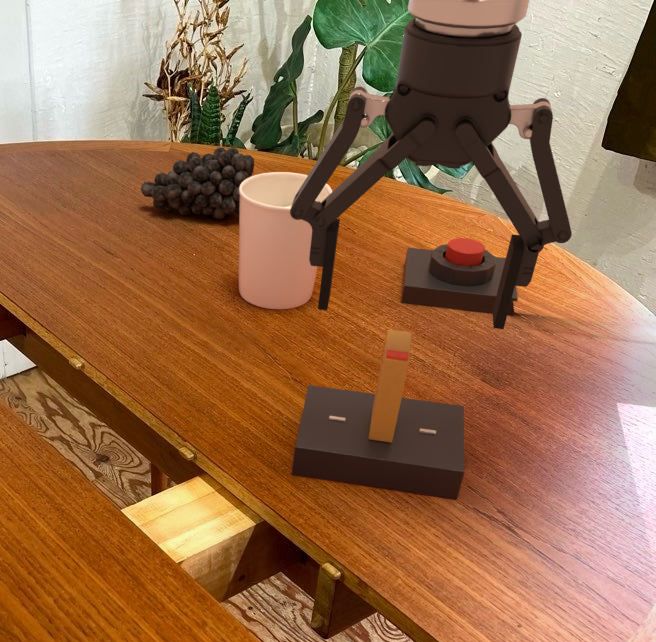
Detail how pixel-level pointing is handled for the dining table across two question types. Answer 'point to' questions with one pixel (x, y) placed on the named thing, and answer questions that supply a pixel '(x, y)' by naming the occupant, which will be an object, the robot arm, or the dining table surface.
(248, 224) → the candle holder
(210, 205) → the fruit
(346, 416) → the dark lever base block
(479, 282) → the bell block
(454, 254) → the bell button
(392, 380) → the tan upright plank
